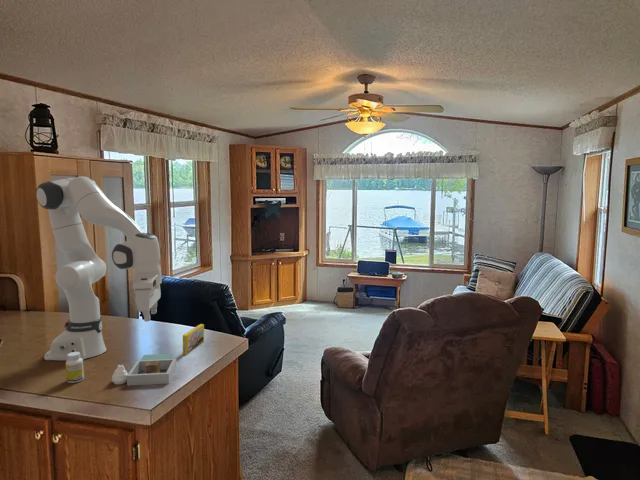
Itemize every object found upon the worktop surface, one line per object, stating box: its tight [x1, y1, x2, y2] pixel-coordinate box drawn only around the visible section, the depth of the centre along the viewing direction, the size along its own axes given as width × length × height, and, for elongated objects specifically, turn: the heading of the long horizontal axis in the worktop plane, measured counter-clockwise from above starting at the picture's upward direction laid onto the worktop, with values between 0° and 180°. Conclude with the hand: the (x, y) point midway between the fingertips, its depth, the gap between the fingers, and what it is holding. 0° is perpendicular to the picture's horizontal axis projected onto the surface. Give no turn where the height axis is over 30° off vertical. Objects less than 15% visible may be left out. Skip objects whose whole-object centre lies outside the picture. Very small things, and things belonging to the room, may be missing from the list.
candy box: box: [182, 323, 205, 356], centre depth 194 cm, size 16×2×8 cm, turn 168°
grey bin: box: [126, 358, 177, 387], centre depth 165 cm, size 14×14×4 cm
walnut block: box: [144, 361, 161, 374], centre depth 165 cm, size 4×4×5 cm
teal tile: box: [140, 353, 173, 360], centre depth 179 cm, size 11×11×1 cm
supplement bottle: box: [65, 352, 85, 384], centre depth 161 cm, size 5×5×10 cm
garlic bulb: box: [111, 364, 129, 385], centre depth 161 cm, size 6×6×5 cm
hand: (150, 317), depth 163 cm, fingers open, 8 cm apart
